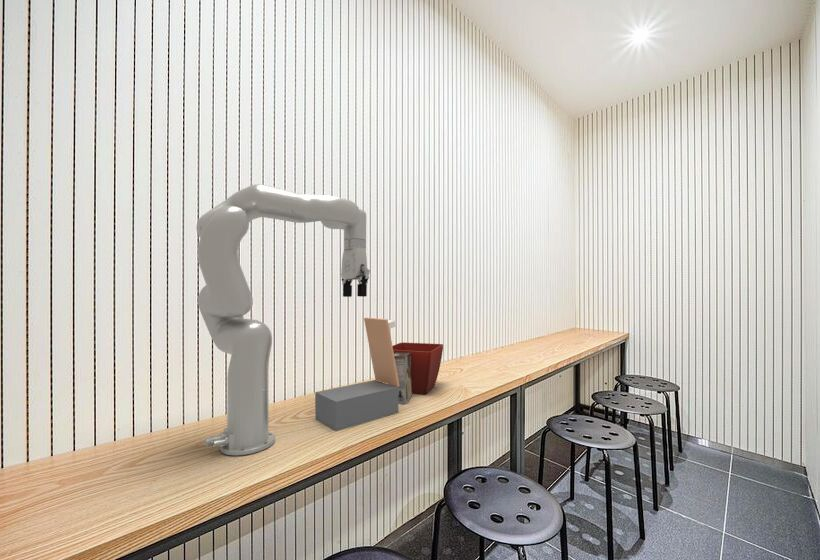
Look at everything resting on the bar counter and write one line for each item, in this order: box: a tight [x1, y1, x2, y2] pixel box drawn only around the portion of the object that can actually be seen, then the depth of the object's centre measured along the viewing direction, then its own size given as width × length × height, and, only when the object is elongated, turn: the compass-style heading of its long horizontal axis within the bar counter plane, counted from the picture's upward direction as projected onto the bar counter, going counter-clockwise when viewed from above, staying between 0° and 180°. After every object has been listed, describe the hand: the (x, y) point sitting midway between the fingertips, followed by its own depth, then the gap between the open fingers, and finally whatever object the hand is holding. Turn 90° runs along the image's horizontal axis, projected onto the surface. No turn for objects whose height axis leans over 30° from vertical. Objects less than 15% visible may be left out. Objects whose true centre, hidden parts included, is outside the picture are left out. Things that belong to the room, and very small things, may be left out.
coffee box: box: [389, 353, 413, 405], centre depth 125 cm, size 9×6×16 cm
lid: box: [363, 317, 400, 387], centre depth 118 cm, size 22×12×6 cm
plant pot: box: [392, 341, 444, 395], centre depth 139 cm, size 19×19×17 cm
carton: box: [314, 379, 399, 432], centre depth 110 cm, size 22×13×8 cm, turn 130°
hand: (354, 296), depth 118 cm, fingers open, 9 cm apart
